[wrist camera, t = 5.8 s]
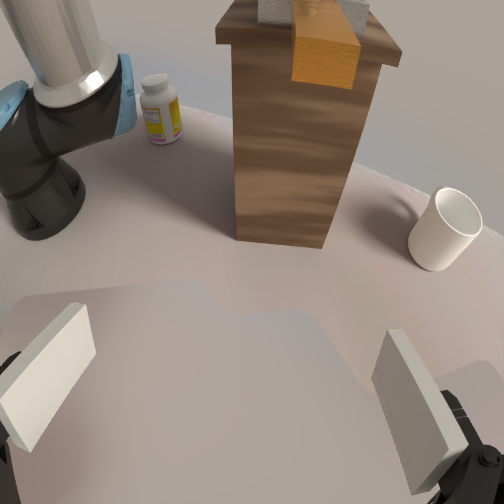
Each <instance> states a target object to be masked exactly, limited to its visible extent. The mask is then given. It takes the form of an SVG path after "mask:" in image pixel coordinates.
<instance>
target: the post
mask: <svg viewBox="0 0 504 504" xmlns="http://www.w3.org/2000/svg"><path fill="white" fill-rule="evenodd" d="M215 33H216V44H231V57H232V58H231V59H232V106H233V107H232V108H233V147H234V180H235V210H236V237H237V241H247V242H258V243H268V244H278V245H289V246H299V247H309V248H319V249H322V247H323V244H324V241H325V239H326V236H327V233H328V231H329V228H330V225H331V222H332V220H333V217H334V214H335V211H336V209H337V206H338V203H339V200H340V197H341V194H342V192H343V189H344V186H345V183H346V180H347V177H348V174H349V171H350V168H351V165H352V162H353V159H354V156H355V153H356V150H357V147H358V143H359V140H360V137H361V134H362V131H363V128H364V124H365V121H366V118H367V115H368V111H369V108H370V105H371V101H372V97H373V94H374V91H375V87H376V84H377V80H378V77H379V73H380V69H381V66H382V64H386V65H390V66H394V67H398V65H399V62H400V58H401V55H402V51H401V49H400V48H399V47H398V45H397V44H396V43H395V41H394V40H393V39H392V38H391V37H390V35H389V34H388V33H387V31H386V30H385V29H384V28H383V26H382V25H381V24H380V23H379V22H378V20H377V19H376V18H375V17H374V16H373V15H372V13H371V12H370V11H368V16H367V21H366V26H365V31H364V36H363V38H359V37H357V39H358V41H359V43H360V45H361V50H360V54H359V59H358V63H357V68H356V72H355V76H354V81H353V85H352V89H346V88H341V87H334V86H328V85H321V84H314V83H306V82H298V81H291V55H292V34H291V27H286V26H274V25H259V24H258V0H235V1H234V2H233V3H232V5H231V6H230V8H229V9H228V10H227V11H226V13H225V14H224V16H223V17H222V18H221V20H220V21H219V23H218V24H217V26H216V27H215Z"/></svg>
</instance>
